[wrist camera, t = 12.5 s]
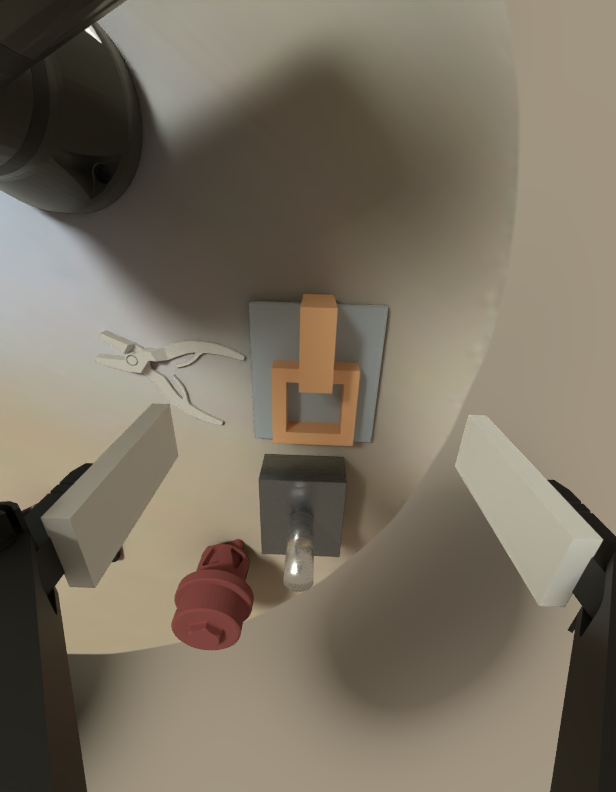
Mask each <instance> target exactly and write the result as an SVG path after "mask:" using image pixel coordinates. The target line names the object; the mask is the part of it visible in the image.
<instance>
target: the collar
mask: <svg viewBox="0 0 616 792" xmlns="http://www.w3.org/2000/svg"><path fill="white" fill-rule="evenodd" d="M337 312H338V308H337V304H336V301H335V297H334V295H325V294H303V298H302V302H301V306H300V347H299V361H291V360H274V362H273V365H272V368H271V378H272V430H273V443H284V444H310V445H336V446H353V438H354V428H355V419H356V409H357V399H358V389H359V380H360V369H359V366H358V363H347V362H334V358H335V343H336V327H337ZM288 382H292V383H299V392H305V393H332V388H333V384H342V390H341V403H340V416H339V423H328V422H302V421H288Z"/></svg>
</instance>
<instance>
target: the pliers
mask: <svg viewBox="0 0 616 792" xmlns="http://www.w3.org/2000/svg"><path fill="white" fill-rule="evenodd" d="M98 338H99V339H101V340H103V341H104V342H106V343H107V344H109V345H111V346H112V347H114V348H115V349H117V350H119V351H120V352H122V353H123V354H127V355H126V356H119V355H111V354H100V355H98V356H96V357H95V360H96V362H97V363H100V364H103V365H107V366H110V367H113V368H117V369H120V370H123V371H127V372H136V373H143V374H145V375H147V376H148V377H149V378H150V379H151V380H152V381H153V382H154V383H155V384H156V385H157V387H158V388H159V389H160V391H161V392H162V394H163V395H164V396H165V397H166V398H167V399H168V400H169V401H170V402H172V403H173V404H174V405H175V406H177V407H178V408H180V409H181V410H183V411H184V412H186V413H188V414H189V415H191V416H193V417H196V418H198V419H200V420H203V421H206V422H210V423H213V424H218V425H222V424H223V420H221V419H219V418H217V417H214V416H212V415H210V414H208V413H206V412H204V411H202V410H201V409H199V408H197V407H196V406H194V405H193V404H191V403H190V401H189V399H188V394H187V391H186V389H185V386H184V385H183V383H182V382H181V381H180V380H179V378H178V377H177V376H176V375H173V376H172V378H173V379H174V380H175V381H176V382H177V383H178V385H179V386H180V387H181V390H182V392H183V397H182V396H181V395H180V394H178V392H177V391H176V390H175V389H174V387H173V386H172V385H171V383H170V382H169V380H168V379H167V378H166V376H164V375H163V374H161V373H160V372H158V371H156V370H155V369H153V368H152V367H151V361H164V360H169V359H172V358H175V357H177V356H180V355H183V354H187V353H195V354H194V356H193V358H192V359H191V360H189V361H188V362H185V363H181V364H176V365H175V368H176V367H182V366H186V365H189V364H190V363H192V362H193V361H195V360H196V359H197V358H198V357H199V356H200V355H201V354H203V353H210V354H218V355H223V356H227V357H232V358H236V359H239V360H243V361H244V358H245V355H243V354H241V353H239V352H237V351H235V350H233V349H231V348H229V347H226V346H223V345H221V344H217V343H213V342H207V341H196V340H189V341H180V342H175V343H173V344H171V345H168V346H166V347H161V348H146V349H145V348H143V347H142V346H140V345H138V344H137V343H135V342H132V341H130V340H128V339H125V338H123V337H121V336H118V335H116V334H114V333H111V332H109V331H104V332H102V333H100V335H99V337H98Z"/></svg>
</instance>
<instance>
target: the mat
mask: <svg viewBox="0 0 616 792" xmlns="http://www.w3.org/2000/svg"><path fill="white" fill-rule="evenodd" d="M300 306H301V302H271V301H250V302H249V324H250V345H251V367H252V388H253V410H254V431H255V438H269V439H273V430H272V378H271V368H272V365H273V362H274V360H291V361H299V347H300ZM337 308H338V312H337V327H336V343H335V358H334V362H347V363H358V366H359V369H360V380H359V389H358V399H357V409H356V419H355V428H354V438H353V442H371V437H372V430H373V422H374V414H375V406H376V399H377V391H378V383H379V375H380V368H381V360H382V352H383V345H384V337H385V329H386V321H387V314H388V306H387V305H360V304H337ZM341 390H342V384H333V388H332V393H305V392H299V383H292V382H288V421H302V422H328V423H339V416H340V403H341Z"/></svg>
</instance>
